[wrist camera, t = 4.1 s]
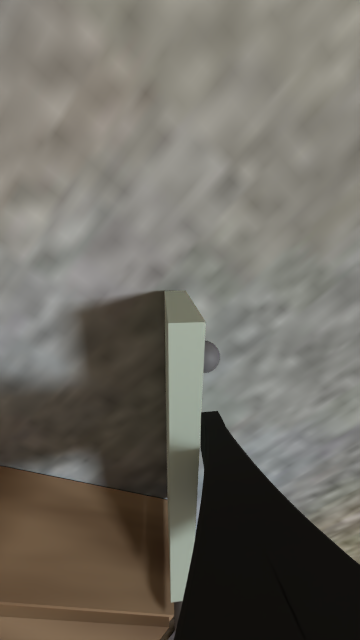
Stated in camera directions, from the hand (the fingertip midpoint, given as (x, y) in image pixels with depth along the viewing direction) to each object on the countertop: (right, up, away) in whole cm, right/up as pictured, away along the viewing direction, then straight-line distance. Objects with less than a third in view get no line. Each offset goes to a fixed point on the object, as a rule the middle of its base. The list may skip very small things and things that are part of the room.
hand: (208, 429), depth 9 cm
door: (-1, 0, +3) cm, 3 cm away
